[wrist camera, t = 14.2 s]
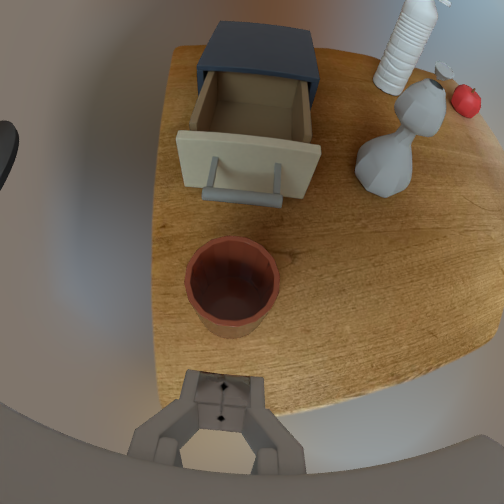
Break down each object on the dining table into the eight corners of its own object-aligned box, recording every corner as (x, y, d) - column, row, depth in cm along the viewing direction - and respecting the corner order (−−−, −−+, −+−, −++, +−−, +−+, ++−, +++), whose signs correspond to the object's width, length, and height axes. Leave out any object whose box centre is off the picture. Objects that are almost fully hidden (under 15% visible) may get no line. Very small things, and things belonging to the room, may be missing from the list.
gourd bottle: (363, 150, 37) (421, 37, 19) (405, 183, 36) (482, 81, 17) (337, 178, 35) (402, 45, 16) (385, 216, 33) (479, 101, 15)
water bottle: (367, 75, 47) (405, -23, 24) (391, 80, 48) (431, -11, 25) (386, 101, 44) (435, -6, 21) (411, 105, 45) (462, 9, 22)
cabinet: (303, 132, 38) (320, 78, 29) (199, 121, 37) (196, 65, 28) (299, 74, 44) (310, 30, 35) (218, 65, 43) (219, 20, 35)
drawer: (302, 237, 30) (324, 196, 23) (175, 223, 30) (162, 179, 22) (300, 112, 38) (311, 70, 31) (208, 102, 37) (207, 59, 30)
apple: (443, 94, 50) (457, 72, 43) (467, 108, 50) (481, 88, 42) (451, 112, 47) (467, 88, 39) (475, 127, 47) (492, 106, 39)
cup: (194, 334, 26) (178, 320, 18) (202, 271, 29) (192, 231, 20) (261, 341, 27) (276, 330, 18) (266, 278, 29) (281, 240, 21)
